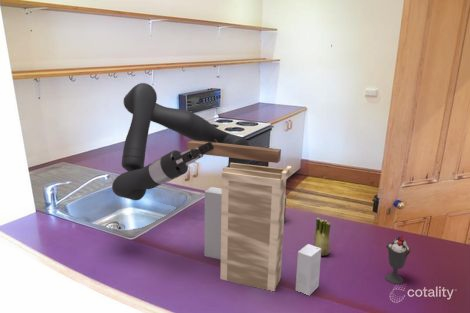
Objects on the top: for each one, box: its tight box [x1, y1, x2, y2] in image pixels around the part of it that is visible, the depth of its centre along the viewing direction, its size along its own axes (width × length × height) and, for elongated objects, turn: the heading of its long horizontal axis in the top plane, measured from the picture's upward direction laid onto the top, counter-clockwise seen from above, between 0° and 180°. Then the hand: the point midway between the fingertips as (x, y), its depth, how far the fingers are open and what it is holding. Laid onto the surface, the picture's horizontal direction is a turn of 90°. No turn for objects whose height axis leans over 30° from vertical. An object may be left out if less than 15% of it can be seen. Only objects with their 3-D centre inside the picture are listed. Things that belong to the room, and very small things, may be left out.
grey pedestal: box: [204, 186, 222, 261], centre depth 113 cm, size 5×8×22 cm, turn 69°
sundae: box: [384, 234, 412, 285], centre depth 102 cm, size 7×7×15 cm
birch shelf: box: [220, 163, 293, 292], centre depth 98 cm, size 7×17×34 cm, turn 69°
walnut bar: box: [187, 139, 282, 164], centre depth 96 cm, size 3×26×3 cm, turn 69°
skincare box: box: [295, 243, 322, 296], centre depth 97 cm, size 6×4×12 cm
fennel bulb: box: [314, 217, 332, 257], centre depth 117 cm, size 6×5×12 cm
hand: (214, 143), depth 98 cm, fingers closed on walnut bar, 3 cm apart
